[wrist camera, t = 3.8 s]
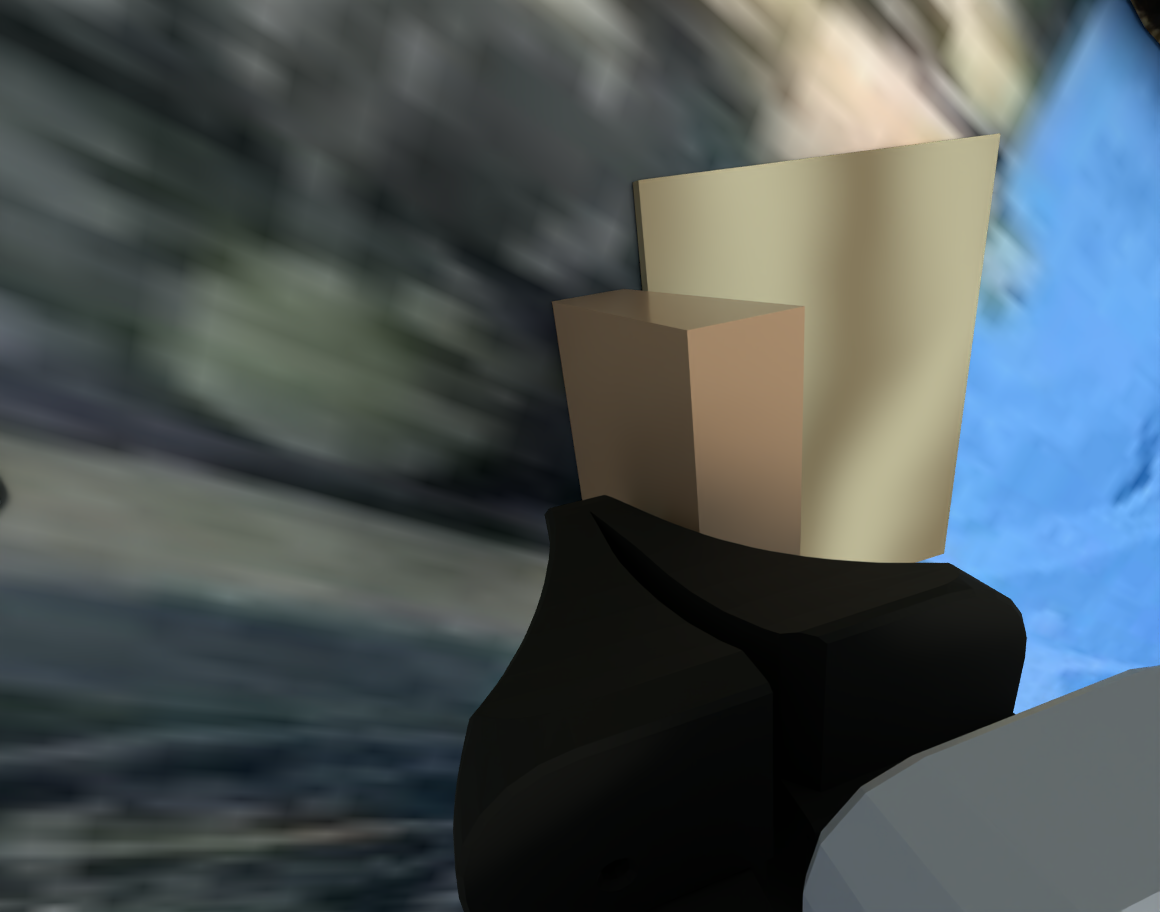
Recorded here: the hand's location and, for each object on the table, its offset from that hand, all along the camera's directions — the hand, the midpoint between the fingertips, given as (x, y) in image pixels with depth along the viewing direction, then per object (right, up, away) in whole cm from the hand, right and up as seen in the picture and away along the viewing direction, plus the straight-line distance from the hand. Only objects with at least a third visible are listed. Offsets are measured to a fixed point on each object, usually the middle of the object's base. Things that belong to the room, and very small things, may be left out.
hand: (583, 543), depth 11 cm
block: (+1, +2, +4) cm, 5 cm away
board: (+7, +3, +6) cm, 10 cm away
